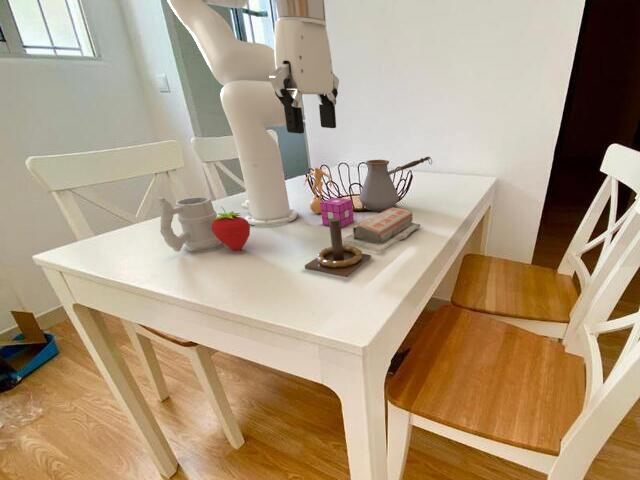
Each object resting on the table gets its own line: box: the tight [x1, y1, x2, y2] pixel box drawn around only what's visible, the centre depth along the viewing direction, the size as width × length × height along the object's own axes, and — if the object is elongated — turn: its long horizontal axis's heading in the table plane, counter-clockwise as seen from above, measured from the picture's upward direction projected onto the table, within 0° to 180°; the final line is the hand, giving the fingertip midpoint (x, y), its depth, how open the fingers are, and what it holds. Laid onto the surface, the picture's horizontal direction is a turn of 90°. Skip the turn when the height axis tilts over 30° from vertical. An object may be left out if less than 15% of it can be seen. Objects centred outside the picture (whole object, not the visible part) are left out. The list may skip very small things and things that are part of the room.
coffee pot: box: [358, 156, 433, 212], centre depth 95 cm, size 21×12×15 cm, turn 69°
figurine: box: [303, 166, 333, 214], centre depth 93 cm, size 8×6×12 cm
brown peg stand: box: [304, 218, 372, 278], centre depth 64 cm, size 9×9×9 cm
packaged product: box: [342, 207, 421, 253], centre depth 78 cm, size 18×5×10 cm
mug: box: [157, 196, 223, 253], centre depth 70 cm, size 8×12×12 cm, turn 158°
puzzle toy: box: [320, 196, 355, 229], centre depth 86 cm, size 6×6×6 cm
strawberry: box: [212, 205, 251, 252], centre depth 69 cm, size 6×8×10 cm
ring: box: [316, 244, 363, 268], centre depth 65 cm, size 8×8×1 cm
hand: (313, 130), depth 63 cm, fingers open, 9 cm apart
